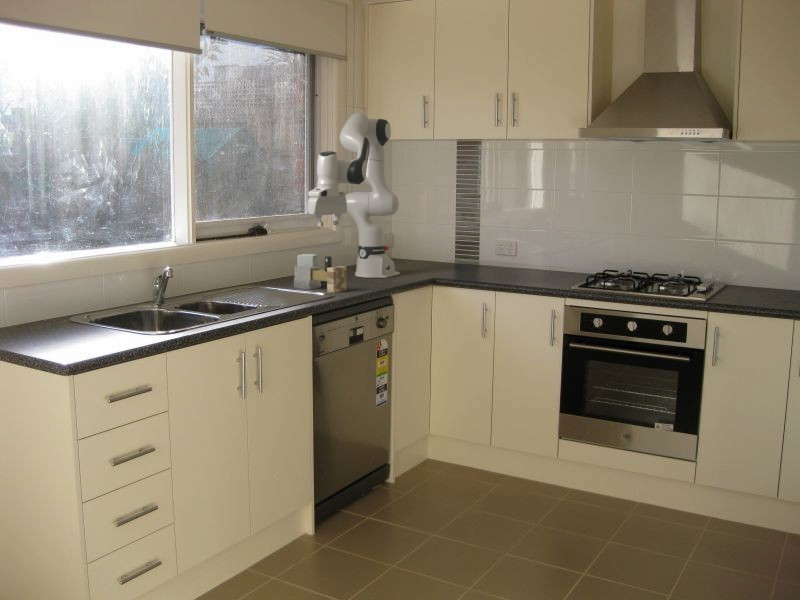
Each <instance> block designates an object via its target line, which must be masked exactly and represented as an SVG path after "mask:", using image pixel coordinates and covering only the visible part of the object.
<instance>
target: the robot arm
mask: <svg viewBox="0 0 800 600" xmlns="http://www.w3.org/2000/svg"><path fill="white" fill-rule="evenodd" d="M391 128H392V127H391V125H390V123H389V121H388V120H387V119H383V118H378V119H377V118H369V117H368V116H367V115H366V114H365V113H361V112H356V113H353V114H351V115H350V116H349V118H348V119H347V120H346V121H345V123H344V125H343V126H342V129H341V130H340V132H339V141H340V144H341V146H342V147H343V149H345V150H346V151H348V152H350V153H355V154H357V155H356V158H354V159H339V158H338V153H337V152H336V151H333V150H332V151H331V150H330V151H322V152H319V154H318V156H317V164H316V174H317V184H316V186H317V187H314V188H313V189H311V190H309V191H308V201H307V212H308V214H309V216H313V217H315V220H316V222H317V227H320V228H322V227H324V222H323V221H322V216H329V215H330V216H331V215H334V217H335V218H334V220H333V223H332V224H333V226H339V225H340V219H341V218H342V217H341V216H342V214H348V215H349V216H350V218H352V219H353V220H354V222H355V225H356V226H357V233H358V245H357V253H358V256H357V259H356V269H355V272H354V275H355V277H359V278H368V279H370V278H372V279H373V278H374V279H375V278H380V279H381V278H382V279H383V278H391V277H393V276H398V275H400V274H401V272H400V271H396V269H395V268H396V267H395V266H396V264H395V262H394V260H392V259H391V258H390V256H389V255H387V254H386V251H389V246H388V245H387V246H386V245H385V246H384V244H383V242H384V237H383V236H384V235H383V234H384V233H383V232H384V230H383V228H382V227H381V226H380V225H378V224H377V223H376V222H374V221H372V219H371V217H378V216H379V217H386V216H387V217H388V216H391V215H395V214H396V213H397V211H398V209H399V206H400V205H399V204H400V201H399V199H398V197H397V195H396V194H395V193H394V192H392V190H390V188H389V186H388V185H387V182H386V178H385V149H384V146H385V145H386V143H388V141H389V139H390V138H391V133H392V129H391ZM363 182H364V183H365V184H367V185H369V186H370V187H371V190H372V191H354V192H348V193H345V192H344V191H342V190H341V191H340V184H352V185H360V184H362V183H363Z"/></svg>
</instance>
